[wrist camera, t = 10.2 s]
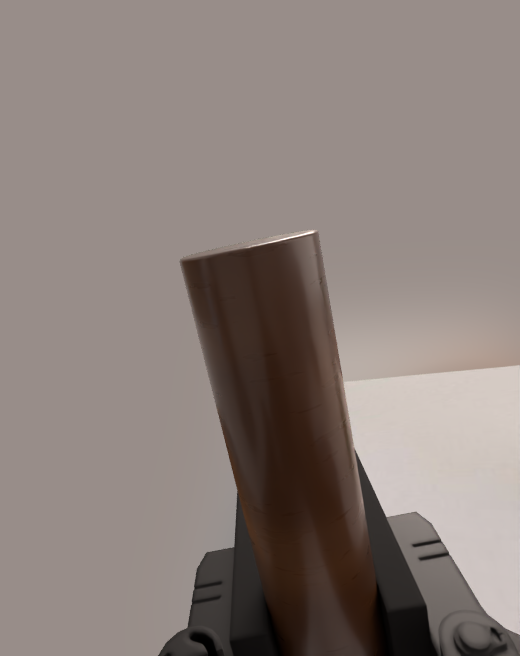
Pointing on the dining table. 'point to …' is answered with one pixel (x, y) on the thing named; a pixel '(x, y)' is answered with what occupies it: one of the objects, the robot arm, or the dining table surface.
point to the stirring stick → (289, 439)
